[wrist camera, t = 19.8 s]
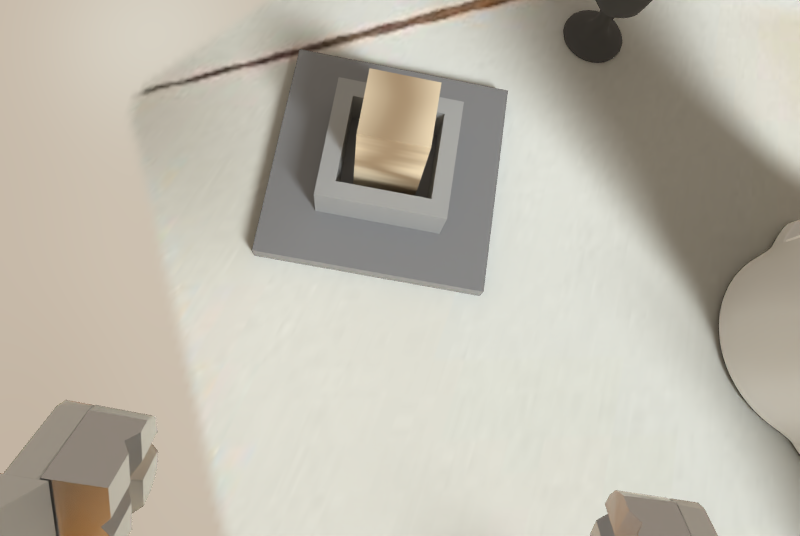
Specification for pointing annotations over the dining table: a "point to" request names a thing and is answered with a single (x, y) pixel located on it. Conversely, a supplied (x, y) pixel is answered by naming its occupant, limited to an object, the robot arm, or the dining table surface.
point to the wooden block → (395, 131)
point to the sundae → (600, 29)
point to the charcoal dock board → (374, 208)
